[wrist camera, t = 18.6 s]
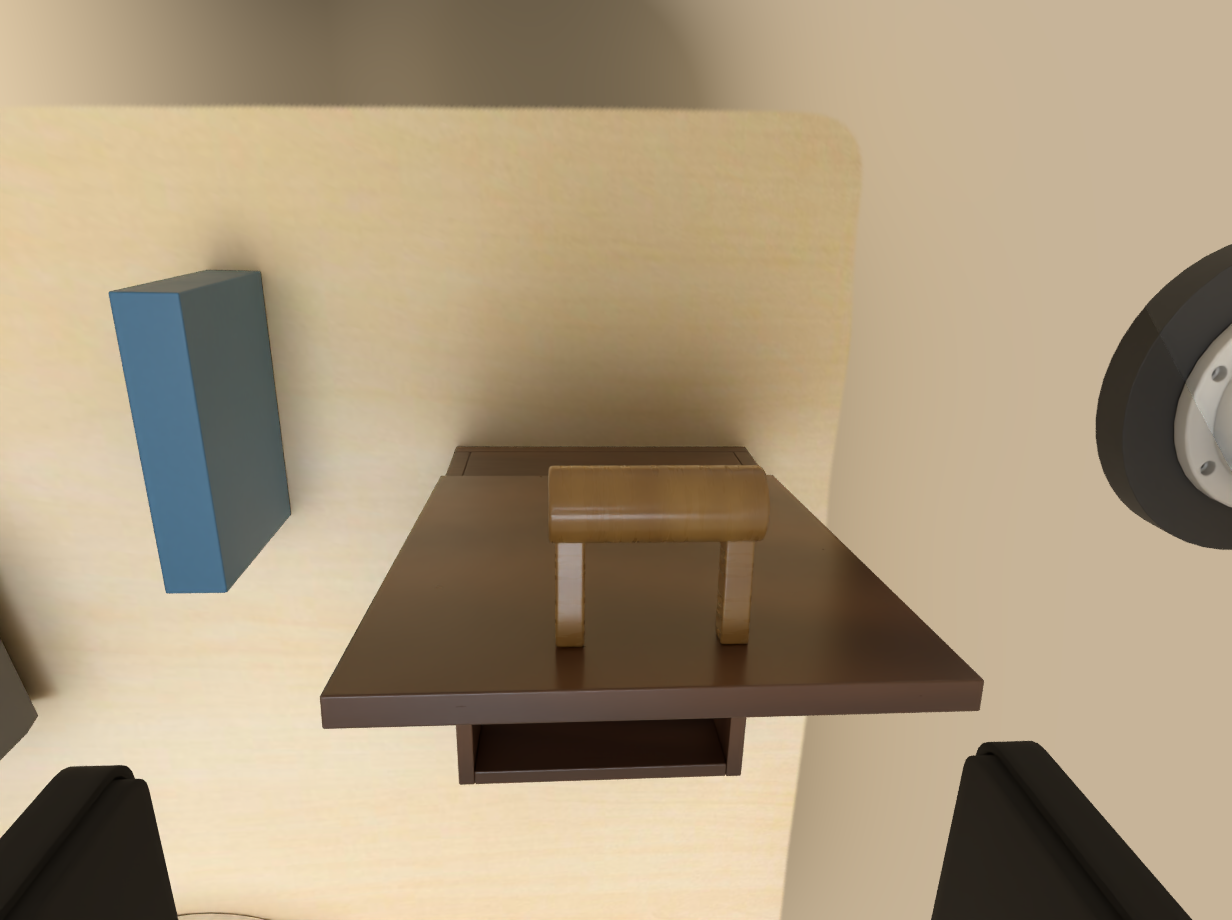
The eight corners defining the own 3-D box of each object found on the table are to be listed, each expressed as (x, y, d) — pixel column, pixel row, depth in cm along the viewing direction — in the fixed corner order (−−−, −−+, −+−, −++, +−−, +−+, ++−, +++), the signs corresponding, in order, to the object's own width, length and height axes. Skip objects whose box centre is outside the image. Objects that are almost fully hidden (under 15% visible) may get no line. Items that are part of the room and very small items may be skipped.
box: (722, 716, 44) (741, 775, 40) (469, 723, 43) (459, 785, 39) (745, 446, 39) (769, 479, 34) (456, 446, 38) (442, 481, 33)
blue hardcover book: (291, 514, 38) (227, 593, 31) (242, 515, 38) (165, 594, 31) (260, 270, 34) (178, 292, 27) (205, 269, 34) (107, 291, 27)
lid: (980, 711, 17) (1013, 493, 16) (321, 729, 16) (301, 496, 15) (771, 492, 34) (780, 376, 33) (441, 493, 33) (436, 373, 32)
